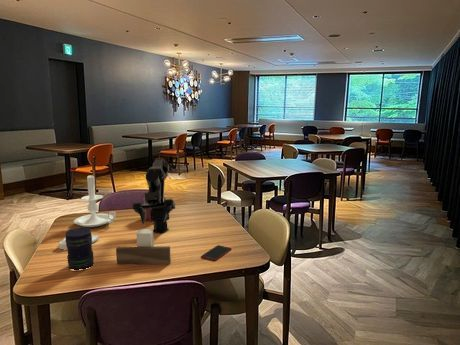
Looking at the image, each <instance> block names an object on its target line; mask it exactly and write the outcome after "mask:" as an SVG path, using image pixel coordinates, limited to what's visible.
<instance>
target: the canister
mask: <svg viewBox="0 0 460 345" xmlns="http://www.w3.org/2000/svg"><path fill="white" fill-rule="evenodd" d="M142 200H143V202H144V203H143V205H144V204H148V203H147V202H146V200H145V197H144V198H143V199H142ZM164 200H167V197H166V196H164ZM151 209H152V208H147V209H144V212H145V221H147V222H152V221H151Z"/></svg>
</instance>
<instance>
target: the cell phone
mask: <svg viewBox="0 0 460 345" xmlns="http://www.w3.org/2000/svg"><path fill="white" fill-rule="evenodd" d="M231 251H232V247H228V246H224V245H219V244H217V245H216V246H214V247H213V248H211V249H210V250H208V251H206V252H205V253H204V254H202V255H201V256H200V259H204V260H208V261H213V262H217V261H218V260H220V259H221V258H222V257H224V256H225V255H226V254H228V253H230V252H231Z"/></svg>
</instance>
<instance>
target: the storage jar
mask: <svg viewBox="0 0 460 345" xmlns="http://www.w3.org/2000/svg"><path fill="white" fill-rule="evenodd" d="M64 234H65V235H64V236H65V238H66V246H67V249H68V250H67V257H66V259H67V265H68V269H69V268H70V269H74V270H79V269H86V268H89V267H91V266H93V267H94V265H95V262H94V261H95V260H94V251H93V247H92V245H93V243H92V235H91V234H92V229H91V228H90V227H77V228H76V227H75V228H72V229H71V228H70V230H66V232H65V233H64ZM93 264H94V265H93ZM91 268H92V267H91Z"/></svg>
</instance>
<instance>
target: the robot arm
mask: <svg viewBox="0 0 460 345" xmlns="http://www.w3.org/2000/svg"><path fill="white" fill-rule="evenodd" d="M169 173H170V165H169V162H167V161H166V160H165V159H164V158H163V157H161V158H154V161H153V163H152V166H150V167H149V168H148V170H147V171H146V174H145V179H146V185H147V186H148V191H147V192H145V193H144V195H143V196H144V198H145V200H146V202H147V203H148V204H144V203H142V201H140V202H139V201H138V202H134V203H132V204H131V206H132V207H131V208H132V209H133V211H134V212H135V213H137V214H139V216H140V220H141V223H142V225H145V222H146V220H145V212H144V209H147V208H152V209H151V221H150V222H153V233H159V234H163V233H165V232H167V231H169V230H170V228H168V221H170V213H171V211H173V210H175V209H176V203H175V201H174V199H173V198H170V199H167V198H166V200H164V197H165V180H166V179H167V178H168V174H169Z"/></svg>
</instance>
